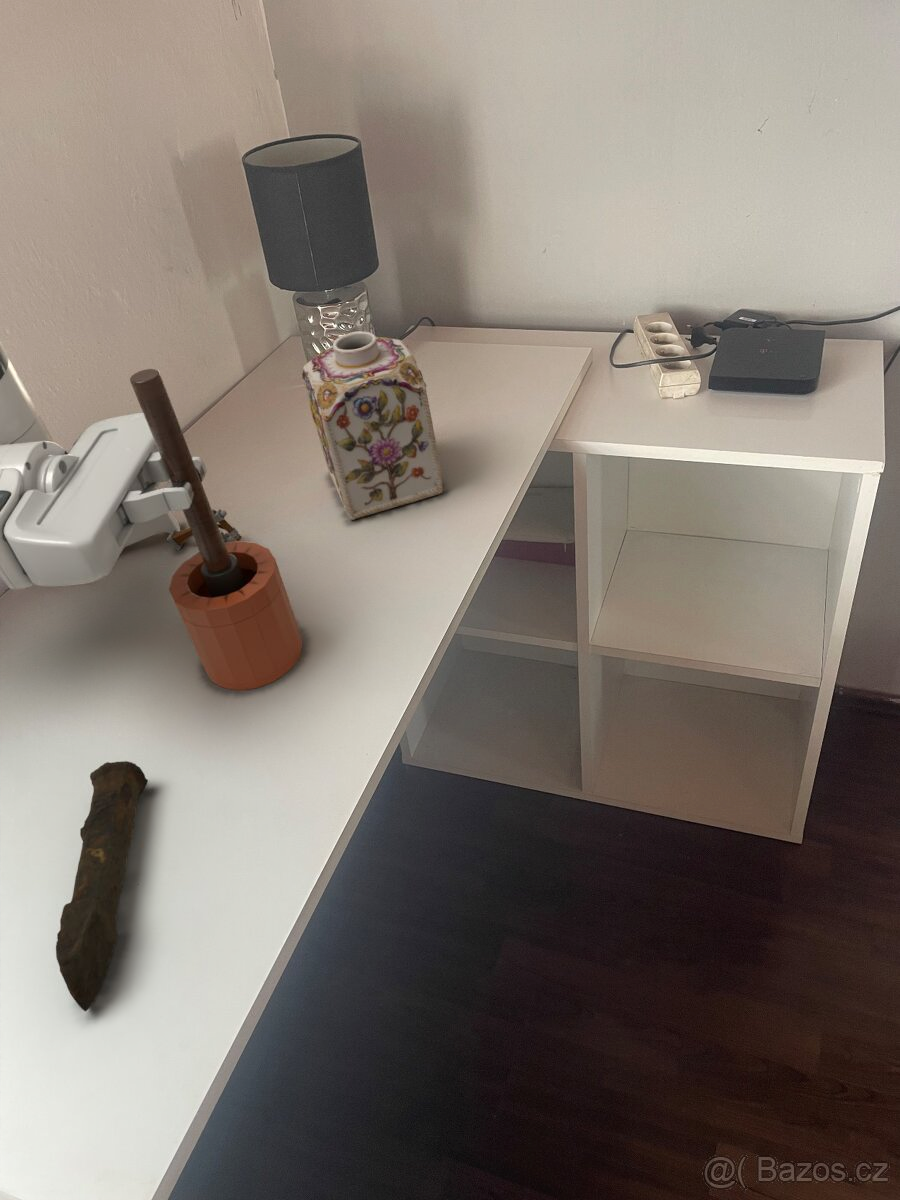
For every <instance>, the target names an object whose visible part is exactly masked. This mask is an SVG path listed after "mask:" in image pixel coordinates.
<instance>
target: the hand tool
mask: <svg viewBox="0 0 900 1200" xmlns="http://www.w3.org/2000/svg"><path fill="white" fill-rule="evenodd" d="M89 778H90V781H91V785H92V787H93V788H92V790H93V792H92V796H91V800H90V801H91V802H90V808H89V813H88V815H87V817H86V819H85V820H84V823H83V826H82V827H81V828H80V831H79V834H80V838H81V840H82V844H81V850H80V855H79V859H78V864H77V869H76V874H75V878H74V885H73V892H72V898H71V901H70V902H68V903H65V904H64V905H63V908H62V912H61V917H60V919H59V920H60V923H59V924H60V926H59V931H58V932H57V934H56V944H55V956H56V960H57V963H58V967H59V972H60V974H61V976H62V978H63V981H64V982H65V985H66V987H67V990H68V992H69V994H70V996H71V998H72V999H73V1000H74V1001H75V1003H76V1004H77V1005H78V1006H79V1008H80V1009H81V1010H83V1011H84V1012H87V1011H88V1010H89V1009H90V1008H92V1005H93V1004H94V1002H95V1001H96V998H97V996H98V994H99V991H100V989H101V987H102V984H103V982H104V980H105V978H106V975H107V972H108V969H109V968H110V961H111V957H112V955H113V953H114V949H115V947H116V944H117V941H118V931H117V929H116V918H117V914H118V906H119V902H120V897H121V893H122V887H123V883H124V880H125V877H126V871H127V860H128V855H129V850H130V845H131V842H132V838H133V831H134V829H135V818H136V817H135V816H136V812H137V805H138V798H139V794H140V792H144V790H145V789H146V787H147V785H148V783H149V779H148V778H146V775H145V773H144V771H143V770H142V768H141V767H140V766H138V765H137V764H136V763H134V762H131V761H127V760H125V761H114V762H109V761H108V762H104V763H103V764H102V765H100V766H99V767H98V768H97V769H94V770H93V771H91V772H90V774H89Z"/></svg>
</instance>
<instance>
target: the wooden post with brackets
mask: <svg viewBox="0 0 900 1200" xmlns="http://www.w3.org/2000/svg"><path fill="white" fill-rule="evenodd" d="M212 512H213V514H214V517H215V520H216V522H217V525H218V528H219V529H221V530H224V531H225V533H224V532H223V531H220V533H221V535H222V538H223V541H224V543H227V541H228V540H229V538H232V539H233V540H234V541H235V542H236V541H242V539H243V536H242V535H241V533H239V531H238V530H237V529H236V528H235V527H233V526H232V525H231V524H230V523H229V522H228V521H227V520H226V519H225V517H226V516H227V514H228V513H227V511H226V510H225V509H221V508H219V509H217V510H215V509H212ZM191 537H193V534H192V532H191V529H190V527H187V528H185V529H182V530H180V531H178V532H177V531H176V530H175V529H174V530H172V531H171V533H169V535H168V537H167V538H166V540H167V541H168V542H169V543H170V544H171V545H172V546H173V547H174V548H175V550H177V551H179V550H181V548H182V546H183V544H184V543H185V542H186V541H187V540H189V539H190V538H191Z"/></svg>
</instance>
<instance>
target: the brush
mask: <svg viewBox="0 0 900 1200" xmlns="http://www.w3.org/2000/svg"><path fill="white" fill-rule="evenodd" d="M129 382H130V384H131V387H132V389H133V392H134V394H135V396H136V399H137V402H138V404H139V407H140V408H141V409H140V410H141V411H142V412H143V414H144V416H145V419H146V421H147V424H148V426H149V429H150V431H151V434H152V436H153V438H154V441H155V443H156V446H157V448H158V451H159V453H160V456H161V458H162V461H163V463H164V465H165V468H166V470H167V473H168V475H169V478H170V479H169V481H170V482H180V481H187V482H189V483H190V484H191V486H192V491H193V492H194V494H195V497H194V499H193V501H192V503H191V505H190V508H188V509H184V510H182V513H183V514H184V517H185V519H186V522H187V524H188V526H189V527H188V528H190V529H191V532H192V534H193V536H192V537H193V539H194V542H195V544H196V547H197V549H198V551H199V552H200V554H201V556H202V559H203V561H204V563H203V565H202V567H201V572H202V574H203V577H204V579H205V582H206V584H207V587H208V589H209V591H210V594H211V596H212V598H213V597H220V596H226V595H228V594H231V593H233V592H236V591H238V590H240V589H241V588H243V587H244V586H245V585H246V583H245V580H244V577H243V575H242V572H241V569H240V567H239V564H238V561H237V559H236V557H235V556H233V555H231V554H228V551H227V549H226V546H225V543H224V541H223V538H222V535H221V530H220V528H218V525H217V524H218V523H217V522H216V520H215V517H214V514H213V512H212V510H213V509H212V507H211V504H210V501H209V499H208V496H207V494H206V491H205V488H204V486H203V483H202V482H201V480H200V478H199V475H198V472H197V470H196V467H195V464H194V462H193V459H192V457H193V456H192V454H191V451H190V448H189V446H188V444H187V441H186V438H185V435H184V433H183V430H182V428H181V426H180V423H179V420H178V417H177V414H176V412H175V410H174V409H175V408H174V407H173V404H172V402H171V399H170V397H169V393H168V391H167V388H166V385H165V383H164V381H163V378H162V374H161V373H160V370H159V369H156V368H147V369H143V370H139V371H136V372H135V373H133V374H132V375H131V376H130V377H129Z"/></svg>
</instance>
